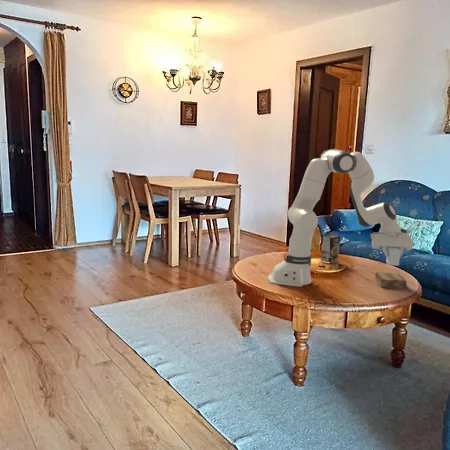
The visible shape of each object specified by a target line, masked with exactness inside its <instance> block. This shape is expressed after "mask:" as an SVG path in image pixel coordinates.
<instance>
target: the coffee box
mask: <svg viewBox="0 0 450 450" xmlns="http://www.w3.org/2000/svg"><path fill="white" fill-rule="evenodd" d="M340 243H341V236H340V235H336V234H328V235H323V236H322V246H321V255H320V262H321V261H325V262H336V263H338V262H339V255H340V254H339V253H340Z"/></svg>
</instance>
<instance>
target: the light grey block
mask: <svg viewBox="0 0 450 450" xmlns="http://www.w3.org/2000/svg"><path fill="white" fill-rule="evenodd" d="M386 251H387V252H389V256H386V258H385V259H386V260H385V263H386V264H387V265H388V266H395V267H396V266H397V267H398V266H400V259H401V257H400V252H401V250H399V249H398V248H388V249H386Z"/></svg>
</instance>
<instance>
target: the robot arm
mask: <svg viewBox="0 0 450 450" xmlns="http://www.w3.org/2000/svg"><path fill="white" fill-rule="evenodd" d="M331 172H332V173H337V174H347V173H348V176H349V178H350V179H351V184H350V185H349V192H350V197H351V199H352V203H353V206H354V210H355V213H356V217H357V221H358V224H359V225H360V226H361V227H365V228H369V227H370V228H371V227H372V226H374V225H377V224H380V231H379V232H375V231H374V232H372V233H370V239H371V248H372V249H373V250H375V249H377V250H378V249H379V250H382V252H383V253H384V256H385V257H387V256H389V252H387V250H388V248H398V249H399V250H401V252H400V258H401V257H403V254H402V253H403V251H411V250H412V249H413V247H414V243H413V239H412V236H411V235H410V231H409V230H408V229H405V228H402V227H399V225H398V216H397V213H396V210H395V209H396V208H395V207H394V206H393V205H392V204H390V203H389V202H384V201H383V202H381V203H377V204H375V205H371V206H369V207H365V206H364V203H363V200H362V194H363V193H364V192H365V191H366V190H367V189H369V188H370V187H371V186H372V184H373V182H374V180H375V173H374V170H373V169H372V166H371V165H370V163H369V161H368V160H367V158H366V157H365V156H364V155H363V153H361V152H359V151H353V152H348V151H345V150H341V149H337V148H336V149H335V148H330V149H326V150H324V151H323V152H322V153H321V154H320V156H319V157H318V158H313V159H311V160H310V162H309V164H308V166H307V167H306V170H305V172H304V175H303V178H302V180H301V181H302V182H301V184H300V188H299V190H298V192H297V195H296V197H295V199H294V201H293V203H292V205H291V206H290V207H289V208H288V210H287V218H288V220H289V222H290V223H291V224H292V226H293V228H292V232H291V236H290V238H289V244H288V252H286V251H285V252H283V257H284V259H283V260H282V261H280V262H279V263H277V264H276V265H275V266H274V267H273V270H272V272H271V273H269V274H268V276H267V281H268V282H269V283H271V284H274V285H284V286H292V287H298V288H300V287H303V286H307V285H309V284H311V283H312V278H311V264H312V255H311V251H312V240H313V238H314V237H313V236H314V233H315V229H316V228H317V226H318V224H319V219H318V216H317V214H316V213H315V212H314V211H313V210H314V208H315V206H316V204H317V203H318V202H319V201H320V200H321V198H322V197H321V196H322V195H323V190H324V188H325V184H326V182H327V178H328V177H329V175H330V174H331Z"/></svg>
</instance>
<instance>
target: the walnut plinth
mask: <svg viewBox="0 0 450 450" xmlns="http://www.w3.org/2000/svg"><path fill="white" fill-rule="evenodd" d="M374 280H375V281H376V283H377V284H378V285H379V286H380V288H388V287H389V289H390V288H391V289H404V288H405V289H406V285H407V280H406V279H405V278H404V277H403V276H402V275H401V274H400V273H395V272H375V279H374Z"/></svg>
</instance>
